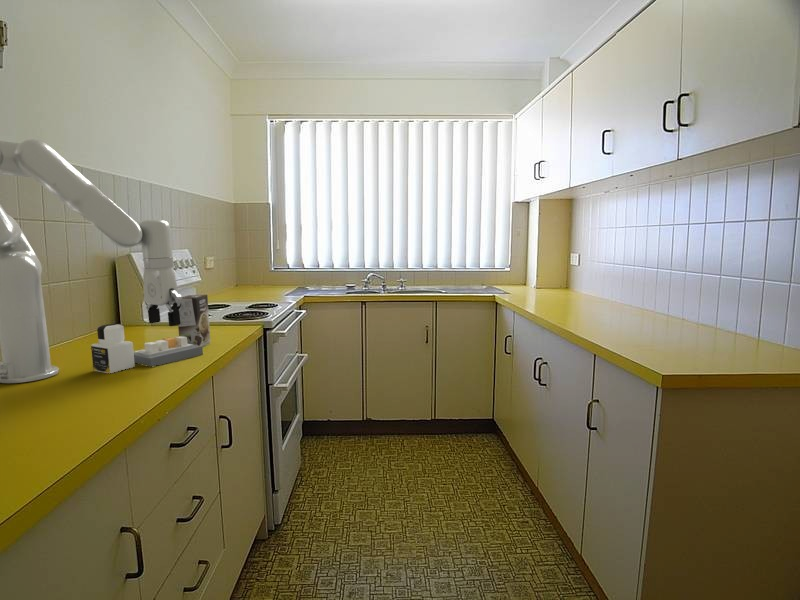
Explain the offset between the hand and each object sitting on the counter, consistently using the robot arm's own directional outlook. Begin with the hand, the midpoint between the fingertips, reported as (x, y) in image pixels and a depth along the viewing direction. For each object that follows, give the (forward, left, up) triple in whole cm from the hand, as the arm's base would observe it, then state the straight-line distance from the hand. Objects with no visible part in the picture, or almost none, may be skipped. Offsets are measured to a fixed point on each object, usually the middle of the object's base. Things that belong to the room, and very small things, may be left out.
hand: (164, 323), depth 141 cm
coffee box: (+14, +6, -10) cm, 18 cm away
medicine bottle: (-14, +1, -10) cm, 18 cm away
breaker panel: (0, 0, -10) cm, 10 cm away
